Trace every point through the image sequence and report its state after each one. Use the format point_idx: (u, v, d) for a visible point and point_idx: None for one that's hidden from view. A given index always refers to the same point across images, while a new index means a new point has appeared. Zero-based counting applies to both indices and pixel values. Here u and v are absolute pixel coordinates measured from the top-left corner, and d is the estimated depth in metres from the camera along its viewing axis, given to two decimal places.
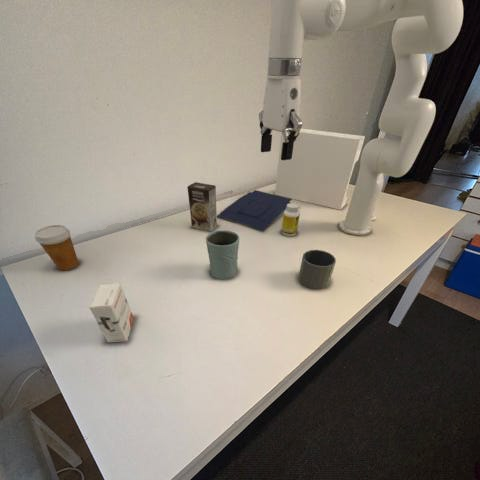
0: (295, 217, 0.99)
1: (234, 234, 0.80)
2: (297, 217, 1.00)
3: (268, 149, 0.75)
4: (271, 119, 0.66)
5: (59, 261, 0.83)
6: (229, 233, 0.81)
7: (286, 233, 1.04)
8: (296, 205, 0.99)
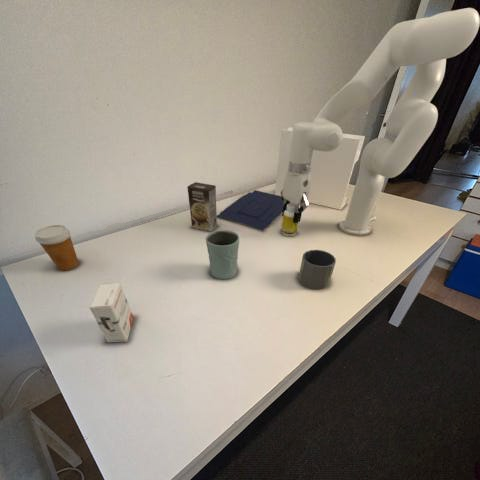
0: None
1: (234, 234, 0.80)
2: None
3: None
4: (289, 195, 0.95)
5: (59, 261, 0.83)
6: (229, 233, 0.81)
7: (286, 233, 1.04)
8: None
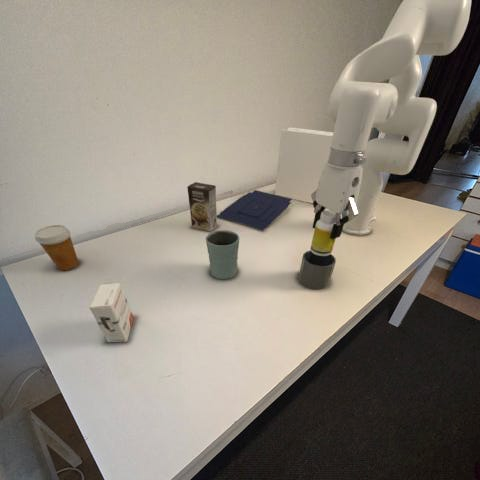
0: None
1: (234, 234, 0.80)
2: None
3: None
4: (327, 200, 0.65)
5: (59, 261, 0.83)
6: (229, 233, 0.81)
7: (318, 253, 0.74)
8: (335, 214, 0.68)
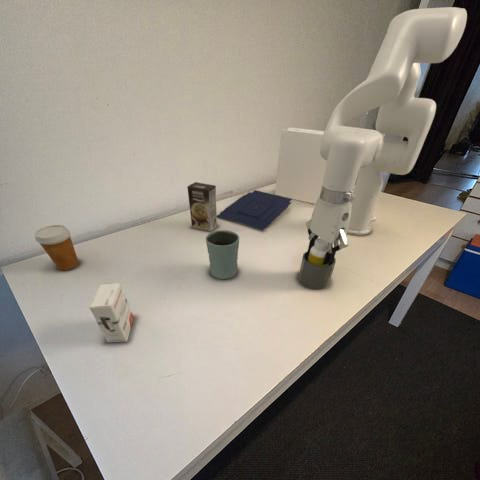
0: None
1: (234, 234, 0.80)
2: None
3: None
4: (320, 230, 0.71)
5: (59, 261, 0.83)
6: (229, 233, 0.81)
7: None
8: None
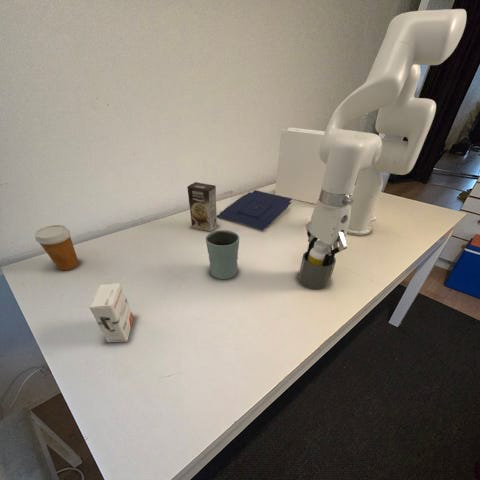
0: None
1: (234, 234, 0.80)
2: None
3: None
4: (319, 232, 0.71)
5: (59, 261, 0.83)
6: (229, 233, 0.81)
7: None
8: None
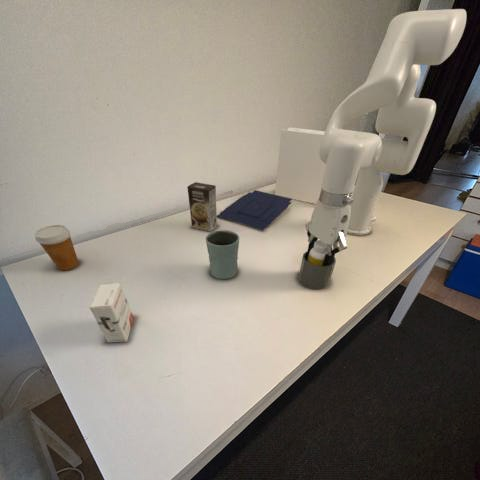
0: None
1: (234, 234, 0.80)
2: None
3: None
4: (319, 232, 0.71)
5: (59, 261, 0.83)
6: (229, 233, 0.81)
7: None
8: None
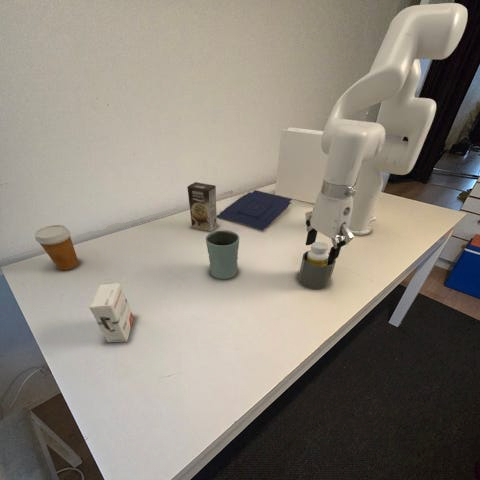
0: (323, 260, 0.76)
1: (234, 234, 0.80)
2: (326, 260, 0.76)
3: (312, 242, 0.79)
4: (321, 225, 0.70)
5: (59, 261, 0.83)
6: (229, 233, 0.81)
7: None
8: (324, 245, 0.75)
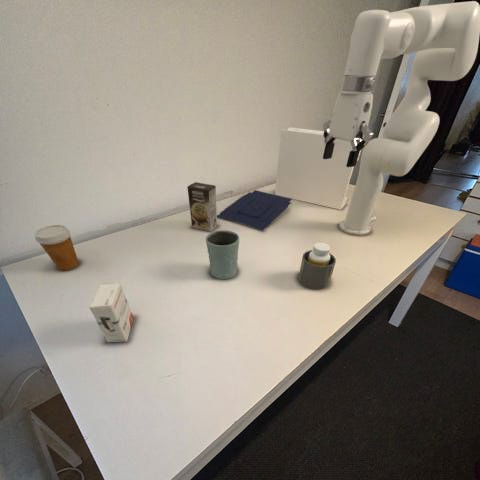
0: (325, 262, 0.76)
1: (234, 234, 0.80)
2: (327, 262, 0.76)
3: (329, 156, 0.81)
4: (340, 130, 0.72)
5: (59, 261, 0.83)
6: (229, 233, 0.81)
7: None
8: (326, 247, 0.75)
